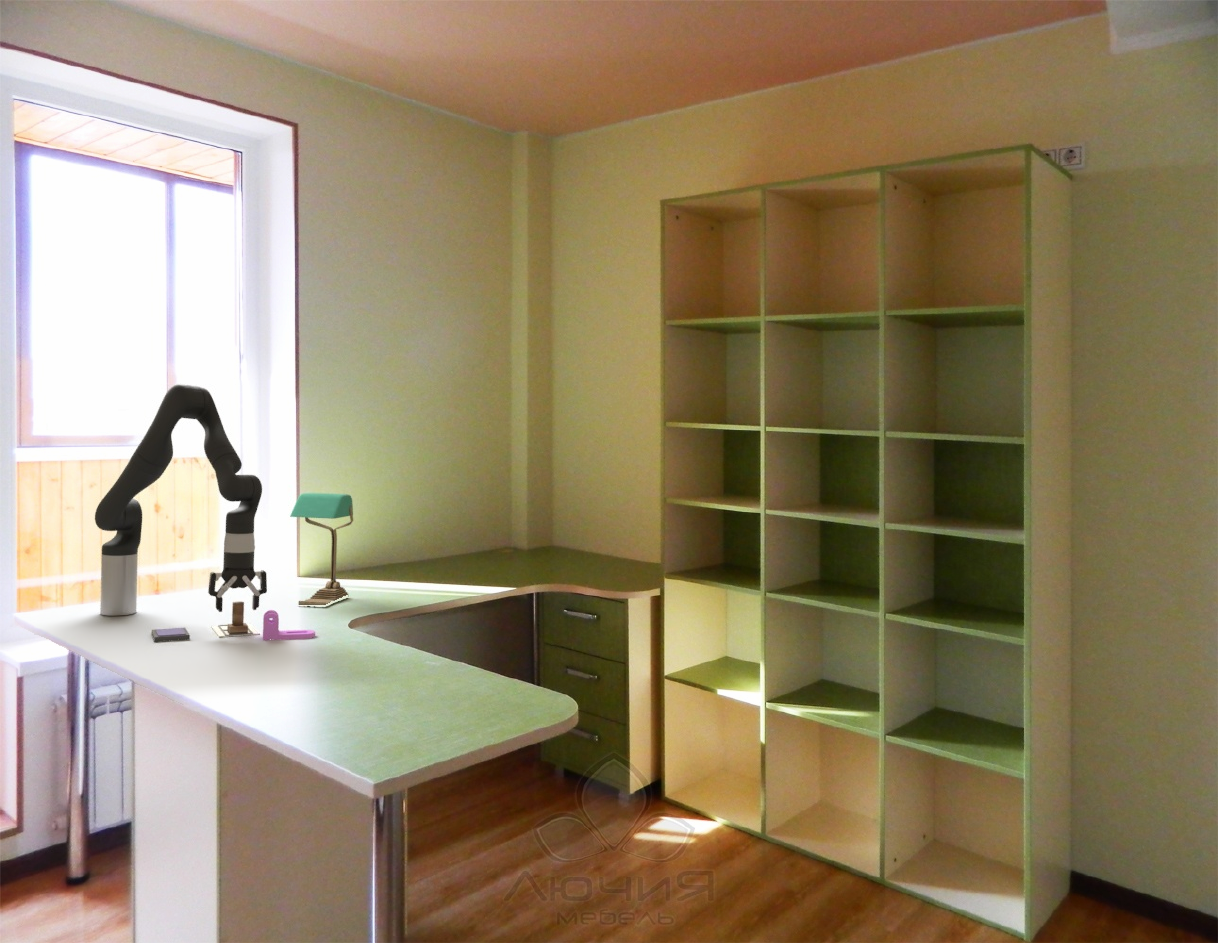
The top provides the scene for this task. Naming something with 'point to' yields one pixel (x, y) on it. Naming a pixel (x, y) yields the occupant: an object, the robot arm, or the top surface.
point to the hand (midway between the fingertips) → (237, 610)
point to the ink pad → (170, 634)
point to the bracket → (273, 631)
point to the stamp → (237, 620)
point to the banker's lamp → (331, 508)
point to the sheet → (222, 632)
